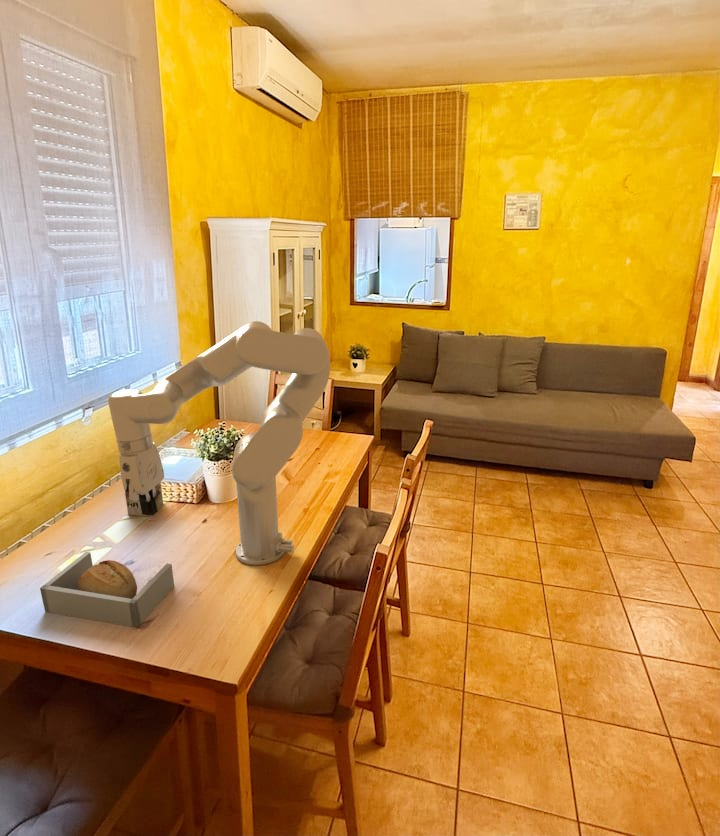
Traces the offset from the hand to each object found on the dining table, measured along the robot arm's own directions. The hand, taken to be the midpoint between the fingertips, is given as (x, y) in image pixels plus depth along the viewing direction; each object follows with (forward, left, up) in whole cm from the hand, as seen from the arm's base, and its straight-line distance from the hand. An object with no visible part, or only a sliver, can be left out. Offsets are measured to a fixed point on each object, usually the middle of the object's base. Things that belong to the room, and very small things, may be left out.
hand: (150, 513), depth 131 cm
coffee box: (+18, -23, -13) cm, 33 cm away
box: (+1, +15, -13) cm, 20 cm away
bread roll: (+2, +15, -14) cm, 21 cm away
